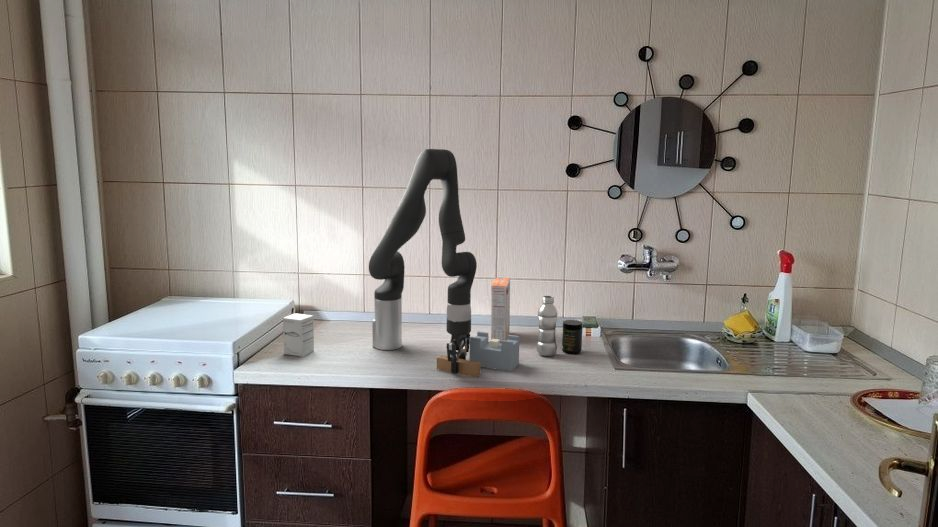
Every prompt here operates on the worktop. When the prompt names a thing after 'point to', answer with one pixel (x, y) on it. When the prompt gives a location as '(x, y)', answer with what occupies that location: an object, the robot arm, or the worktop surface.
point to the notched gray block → (495, 351)
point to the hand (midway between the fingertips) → (458, 370)
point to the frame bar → (460, 366)
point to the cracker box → (500, 309)
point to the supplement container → (572, 337)
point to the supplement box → (298, 334)
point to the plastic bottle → (547, 327)
